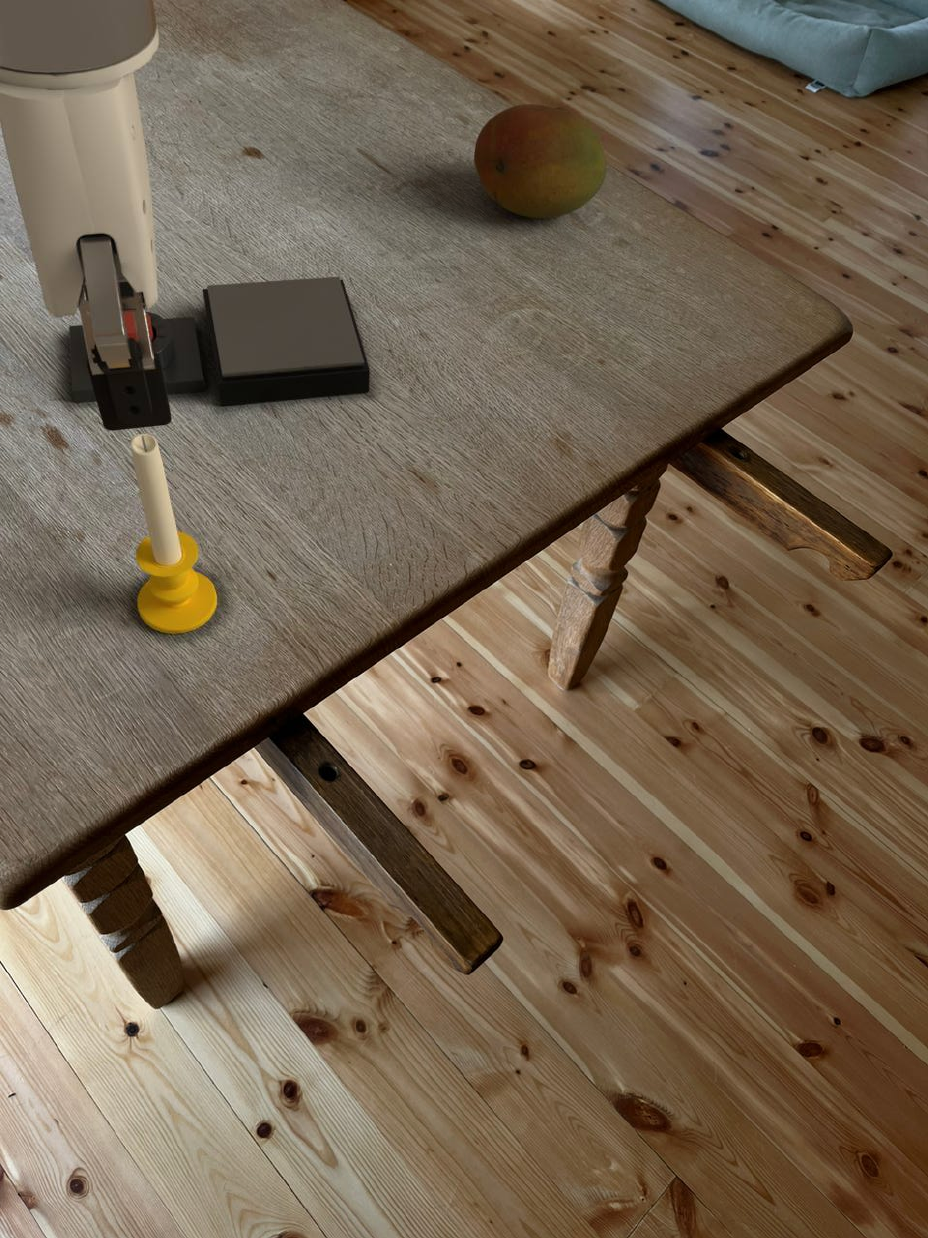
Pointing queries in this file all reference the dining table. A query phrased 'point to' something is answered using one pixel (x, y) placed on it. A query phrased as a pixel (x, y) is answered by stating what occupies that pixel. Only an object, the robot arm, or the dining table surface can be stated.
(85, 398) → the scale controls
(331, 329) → the scale
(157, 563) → the candle
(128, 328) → the button
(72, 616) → the dining table surface
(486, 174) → the fruit
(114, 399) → the robot arm
